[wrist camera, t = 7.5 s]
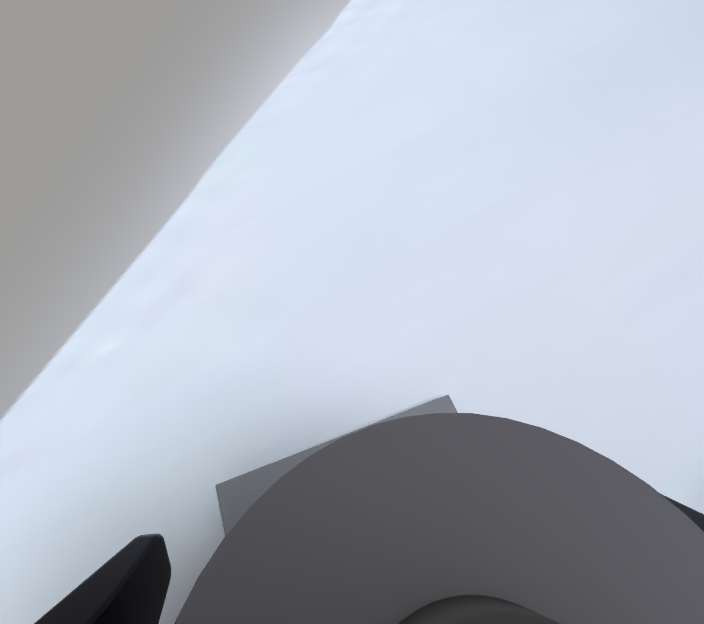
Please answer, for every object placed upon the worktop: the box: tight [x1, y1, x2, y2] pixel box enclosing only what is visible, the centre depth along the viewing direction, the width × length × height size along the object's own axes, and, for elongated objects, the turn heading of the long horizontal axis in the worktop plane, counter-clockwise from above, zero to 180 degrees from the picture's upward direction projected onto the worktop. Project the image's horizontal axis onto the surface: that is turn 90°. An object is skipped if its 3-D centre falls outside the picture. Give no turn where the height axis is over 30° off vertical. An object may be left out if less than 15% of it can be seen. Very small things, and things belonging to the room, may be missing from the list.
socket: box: [216, 395, 457, 537], centre depth 14 cm, size 10×10×1 cm
